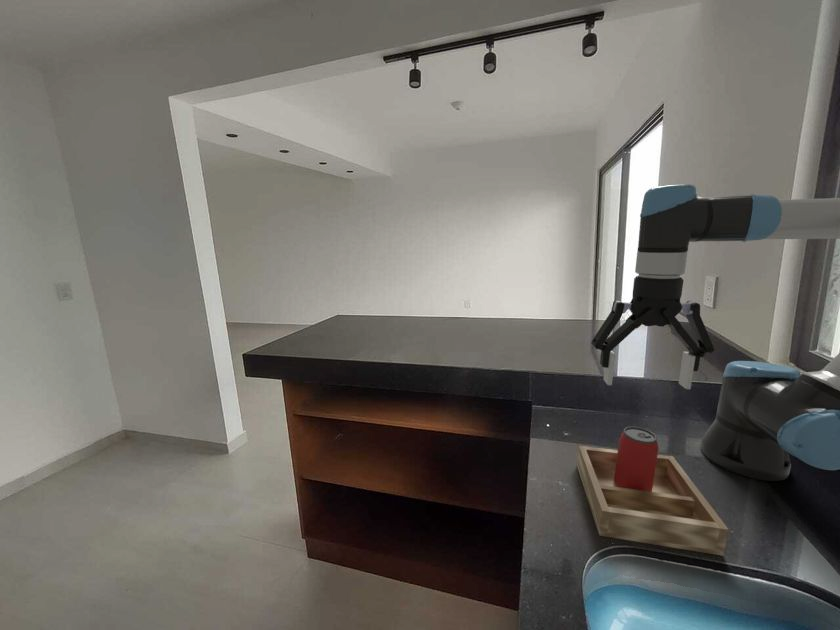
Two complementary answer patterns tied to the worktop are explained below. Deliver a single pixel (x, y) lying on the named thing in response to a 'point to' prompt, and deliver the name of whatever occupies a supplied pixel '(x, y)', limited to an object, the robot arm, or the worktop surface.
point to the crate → (650, 505)
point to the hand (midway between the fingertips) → (645, 384)
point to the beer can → (636, 459)
